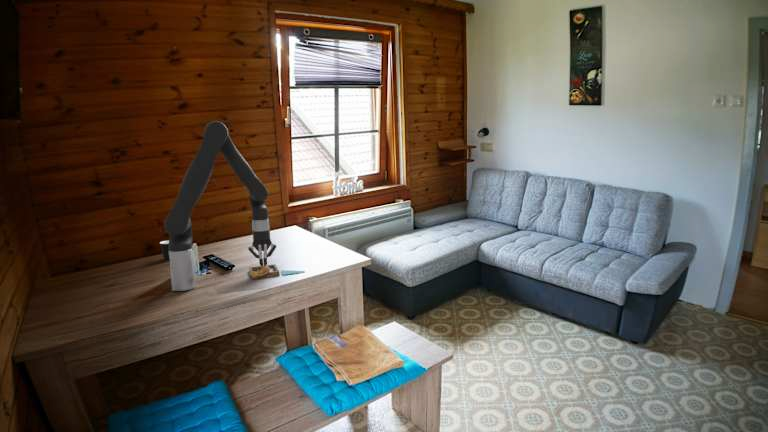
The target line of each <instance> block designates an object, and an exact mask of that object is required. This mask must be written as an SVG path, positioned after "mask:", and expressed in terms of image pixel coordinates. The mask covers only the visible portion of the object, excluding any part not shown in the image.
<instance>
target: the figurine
mask: <svg viewBox="0 0 768 432" xmlns="http://www.w3.org/2000/svg"><path fill="white" fill-rule="evenodd" d="M251 271H252V270H251ZM251 271H250V270H249V275H250V276H251V275H252V276H253V277H257V276H262V275H264V274H266V273H267V272H271V268H269V267H268V266H264V265H263V267H262V268H261V270H259V269H258V270H257V271H253V273H252V274H251ZM261 273H264V274H261Z"/></svg>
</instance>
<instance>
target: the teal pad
mask: <svg viewBox="0 0 768 432" xmlns="http://www.w3.org/2000/svg"><path fill="white" fill-rule="evenodd" d="M280 273H281V275H282V276H283V277H285V276H292V275H299V274H303V273H305V270H285V269H283V270H282V269H281V270H280Z"/></svg>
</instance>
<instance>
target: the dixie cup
mask: <svg viewBox="0 0 768 432" xmlns="http://www.w3.org/2000/svg"><path fill="white" fill-rule="evenodd" d="M159 244H160V247H161V248H160V249H161V254H162V257H163V261H164V262H168V261H169V262H170V257H169V248H168V244H169V239H168V240H162V241H160V242H159Z"/></svg>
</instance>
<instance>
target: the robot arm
mask: <svg viewBox="0 0 768 432" xmlns="http://www.w3.org/2000/svg"><path fill="white" fill-rule="evenodd" d="M219 153H221V154H222V155H223V158H224V159H225V160H226V161H227V163H228V165H229V166H230V168H231V169H232V171H233V173H234V174H235V175H236V177H237V179H238V180H239V182H241V184H243V185H244V186H245V187H246V188H247V190H248V196H249V202H250V203H249V204H250V207H251V208H250V209H251V220H252V221H251V222H252V223H251V227H252V228H251V229H252V244H251V245H250V246H247V250H248V251H249V252H250V253H251V254H252V255H253V256H254V258H256V259H258V261H259V266H262V267H263V266H266V265H268V258H270V257H271V256H272V255H273V253H274V252H275V250H276V248H277V245H276V244H274V243H273V242H272V241H271V233H270V232H271V230H270V221H269V212H268V207H267V206H266V200H267V199H268V197H269V191H268V189H267V187H266V186H265V185H264V183H263V182H262V181H261V180H260V178H259V177H258V176H257V175H256V173H255V171H254V170H253V169H252V167H251V166H250V164H249V163H248V162H247V160H246V159H245V158H244V157H243V155H242V154H241V153H240V151H239V150H238V149H237V148H236V146H235V145H234V143H233V141H232V139H231V137H230V135H229V129H228V128H227V126H226V125H225V124H224V123H223V122H222V121H217V120H212V121H210V122H209V123H207V124H206V125H205V128H204V134H203V137H202V141H201V142H200V147H199V149H198V151H197V153H196V154H195V156H194V157H193V158H192V161H191V162H190V163H189V166H188V168H187V170H186V172H185V174H184V177H183V179H182V183H181V184H180V188H179V191H178V194H177V196H176V200H175V202H174V203H173V206H172V207H171V209H170V211H169V213H168V214H167V216H166V217H165V220H164V223H163V225H164V226H163V228H164V230H165V231H166V233H167V234H168V235H169V239H168V240H169V244H168V248H169V257H170V261H169V266H170V269H169V273H170V281H171V282H170V283H171V291H172V292H184V291H189V290H192V289H195V288H196V274H195V264H194V253H193V230H192V228H193V227H192V221H191V218H190V217H191V214H192V212H193V209H194V207H195V205H196V204H197V202H198V201H199V199H200V198H201V196H202V194H203V193H204V192H205V190H206V187H207V185H208V183H209V181H210V178H211V176H212V174H213V169H214V167H215V164H216V163H215V162H216V160H217V157H218V155H219ZM255 250H256V251H257V252H258V254H257V252H255ZM268 250H269V251H268Z"/></svg>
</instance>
